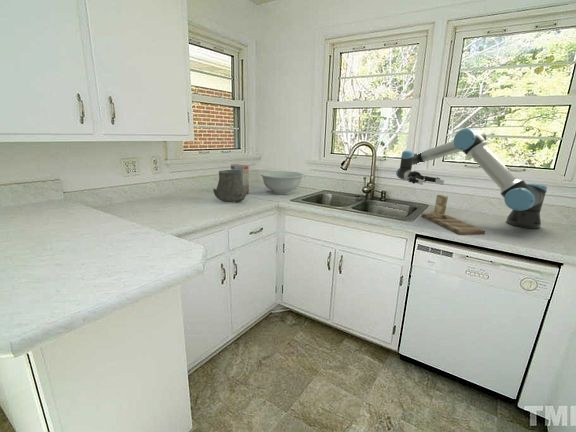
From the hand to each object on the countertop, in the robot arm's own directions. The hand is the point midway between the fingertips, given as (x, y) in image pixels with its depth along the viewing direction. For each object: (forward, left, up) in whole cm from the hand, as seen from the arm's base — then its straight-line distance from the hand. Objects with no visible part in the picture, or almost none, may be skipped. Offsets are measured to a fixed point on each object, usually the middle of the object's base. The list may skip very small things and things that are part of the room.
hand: (432, 182), depth 172 cm
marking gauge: (-6, +7, -18) cm, 20 cm away
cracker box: (+127, +24, -20) cm, 131 cm away
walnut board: (-13, +15, -19) cm, 28 cm away
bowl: (+103, +3, -20) cm, 105 cm away
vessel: (+114, +48, -20) cm, 125 cm away
